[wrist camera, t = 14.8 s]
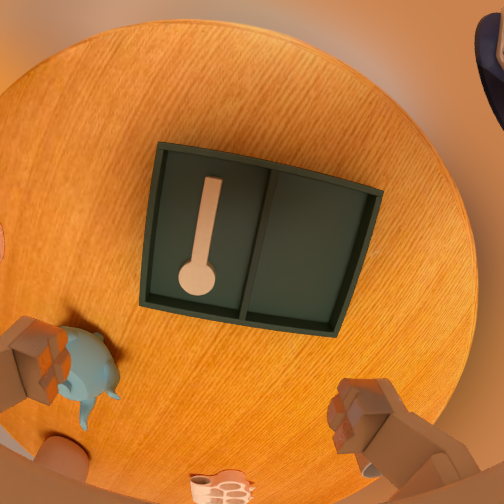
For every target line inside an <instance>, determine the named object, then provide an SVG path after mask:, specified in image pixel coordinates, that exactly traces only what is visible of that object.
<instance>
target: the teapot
mask: <svg viewBox="0 0 504 504" xmlns="http://www.w3.org/2000/svg"><path fill="white" fill-rule="evenodd" d="M59 328H62V329H64V330H65V331H66V332H67V335H68V341H69V342H68V343H67V344H66V346H65V347H66V348H67V350H68V351H69V352H70V355H71V368H70V372H69V375H68V377H67V379H66V381H65V382H64V383H61V384H59V385H57V386H58V390H59V392H58V393H60V394H61V395H62V396H64V397H66V398H68V399H71V400H74V401H80V416H79V419H80V425H81V427H82V428H83V430H85V431H87V419H88V416H89V414H90V412H91V410H92V409H93V407H94V405H95V402H96V396H98V395H100V394H101V393H103V392H104V391H105V390H106V392H107V394H108V395H109V396H110V397H112V398H114V399H117V400H120V397H119V396H118V395H117V394H116V393H115V389H116V387H117V385H118V383H119V380H120V373H119V370H118V368H117V366H116V365H115V362H114V359H113V357H112V355H111V353H110V351H109V350H108V348H107V347H106V345H105V344H104V343H103V342H104V337H103V336H102V335H101V334H100V333H98V332H95V333H93V334H92V333H90V332H88V331H86V330H83V329H80V328H75V327H69V326H59Z"/></svg>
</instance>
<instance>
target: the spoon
mask: <svg viewBox="0 0 504 504" xmlns="http://www.w3.org/2000/svg"><path fill="white" fill-rule="evenodd" d="M222 183H223V178H219V177H214V176H207V177H205V182H204V188H203V193H202V198H201V204H200V210H199V215H198V221H197V227H196V233H195V239H194V245H193V251H192V258H191V259H189V260H187V261H186V262H185V263H184V264H183V266H182V268H181V270H180V272H179V283H180V285H181V287H182V288H183V289H184V290H185V291H186V292H188V293H189V294H192V295H204V294H206V293H208V292H209V291H210V290H211V289H212V288H213V286H214V284H215V279H216V272H215V269H214V267H213V265H212V264H211V263H210V262H209V261H208V257H209V251H210V246H211V240H212V235H213V229H214V224H215V218H216V213H217V208H218V203H219V198H220V193H221V188H222Z"/></svg>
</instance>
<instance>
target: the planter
mask: <svg viewBox="0 0 504 504" xmlns="http://www.w3.org/2000/svg"><path fill="white" fill-rule="evenodd" d="M33 461H34V462H36V463H38V464H40V465H43V466H45V467H47V468H49V469H52V470H54V471H56V472H59V473H61V474H63V475H66V476H68V477H71V478H73V479H76V480H79V481H82V482H84V483H85V481H86V478H87V474H88V471H89V459H88V456H87V454H86V453H85V451H84V450H83V449H82V448H81V447H80V446H79V445H77V444H76V443H75V442H73V441H71V440H69V439H67V438H64V437H61V436H52V437H49V438H48V439H46V440H45V441H44V443H43V444H42V446H41V447H40V449H39V451H38V453H37V455H36V457H35V459H34V460H33Z"/></svg>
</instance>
